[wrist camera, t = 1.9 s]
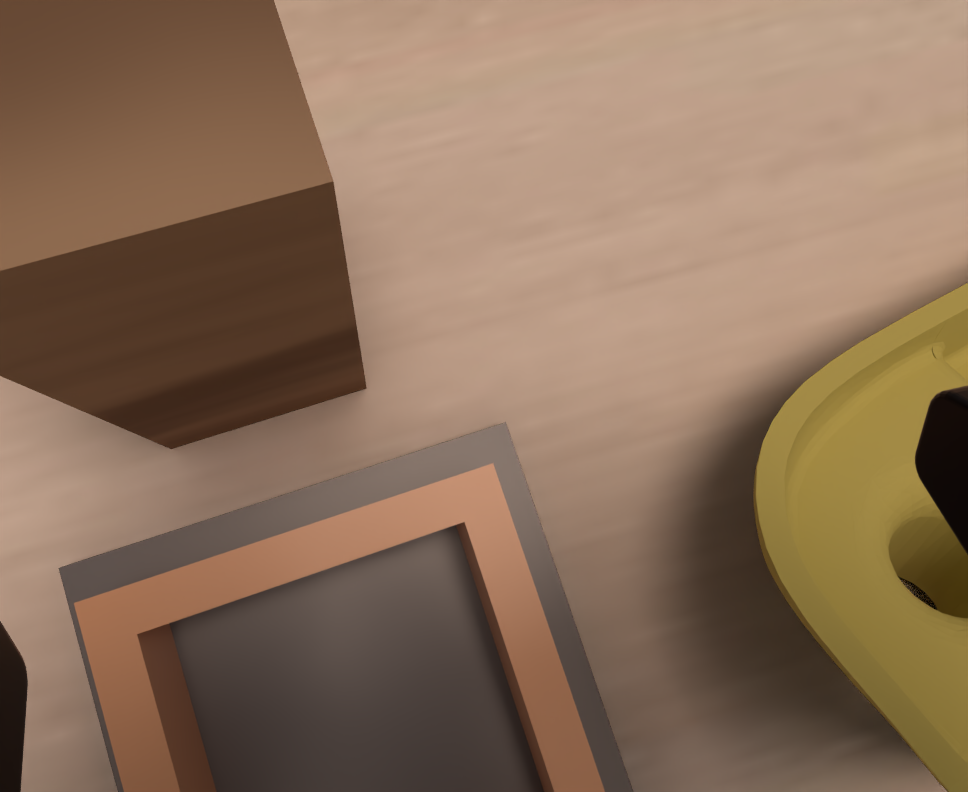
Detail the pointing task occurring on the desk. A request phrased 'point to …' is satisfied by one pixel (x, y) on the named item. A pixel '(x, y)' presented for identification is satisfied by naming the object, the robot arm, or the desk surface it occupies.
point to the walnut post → (167, 218)
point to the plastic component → (876, 529)
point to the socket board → (349, 641)
